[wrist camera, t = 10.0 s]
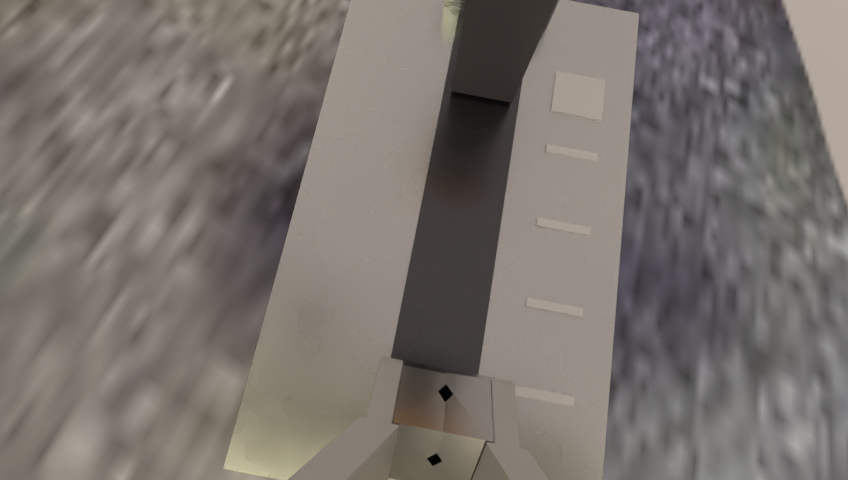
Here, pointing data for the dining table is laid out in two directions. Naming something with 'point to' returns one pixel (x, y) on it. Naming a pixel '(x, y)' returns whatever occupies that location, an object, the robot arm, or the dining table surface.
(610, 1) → the dining table surface
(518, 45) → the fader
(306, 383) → the console board
